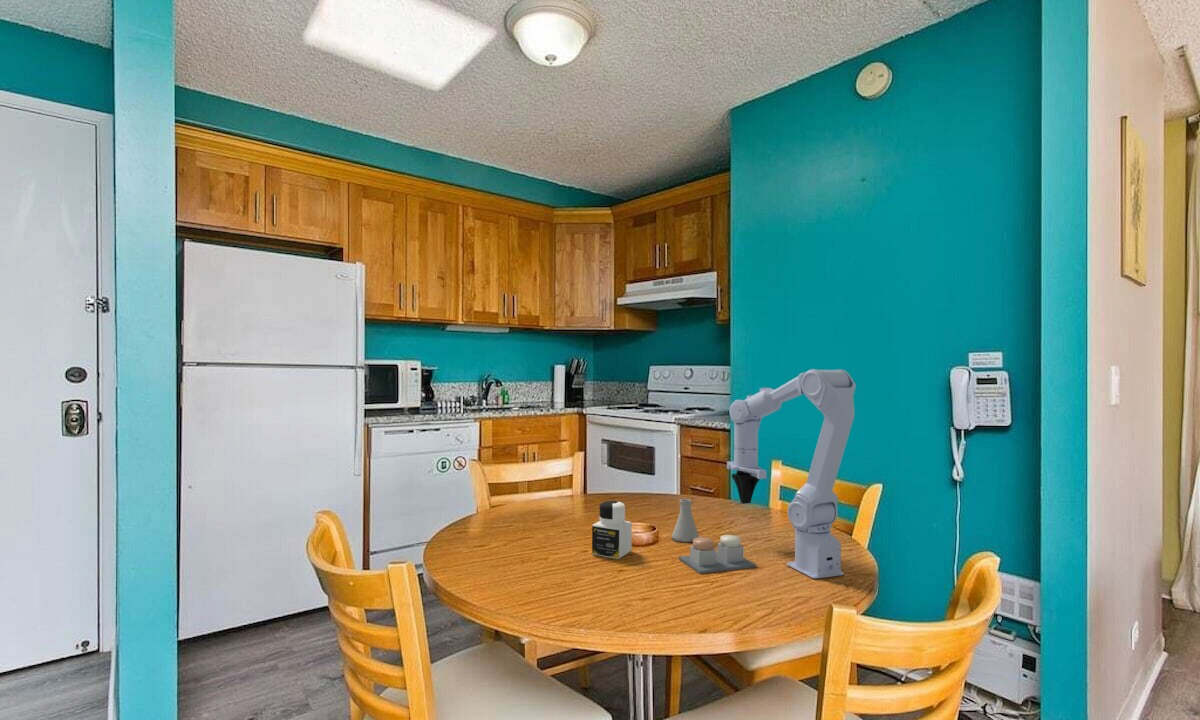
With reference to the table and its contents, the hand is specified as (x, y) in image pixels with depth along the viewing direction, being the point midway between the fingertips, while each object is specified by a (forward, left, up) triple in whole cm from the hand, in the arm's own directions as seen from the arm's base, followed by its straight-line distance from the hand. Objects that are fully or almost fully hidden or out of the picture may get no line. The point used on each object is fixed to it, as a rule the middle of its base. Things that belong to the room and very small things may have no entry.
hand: (745, 502), depth 148 cm
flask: (+9, +12, -11) cm, 18 cm away
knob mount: (-10, +14, -10) cm, 20 cm away
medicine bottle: (+4, +34, -11) cm, 36 cm away
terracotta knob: (-10, +18, -10) cm, 22 cm away
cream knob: (-10, +11, -10) cm, 17 cm away
